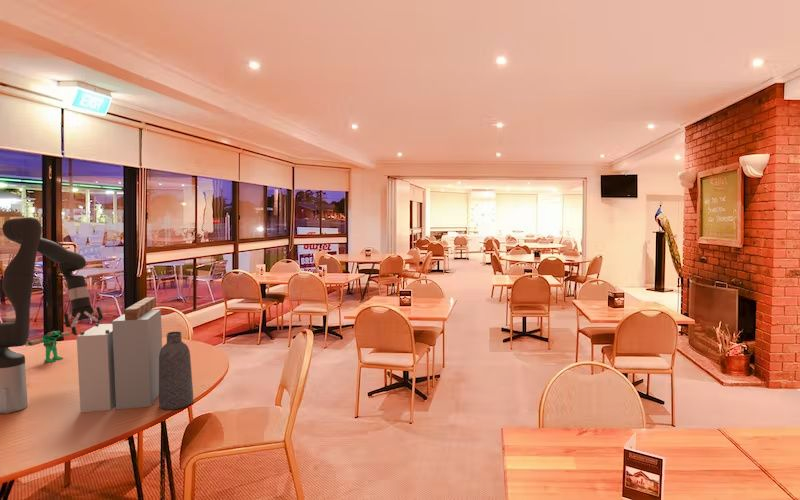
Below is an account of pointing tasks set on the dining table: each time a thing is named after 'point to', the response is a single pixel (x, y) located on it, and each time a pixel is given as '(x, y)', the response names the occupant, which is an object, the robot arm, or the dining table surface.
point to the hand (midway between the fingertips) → (87, 332)
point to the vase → (175, 374)
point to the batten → (140, 308)
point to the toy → (50, 344)
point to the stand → (120, 363)
